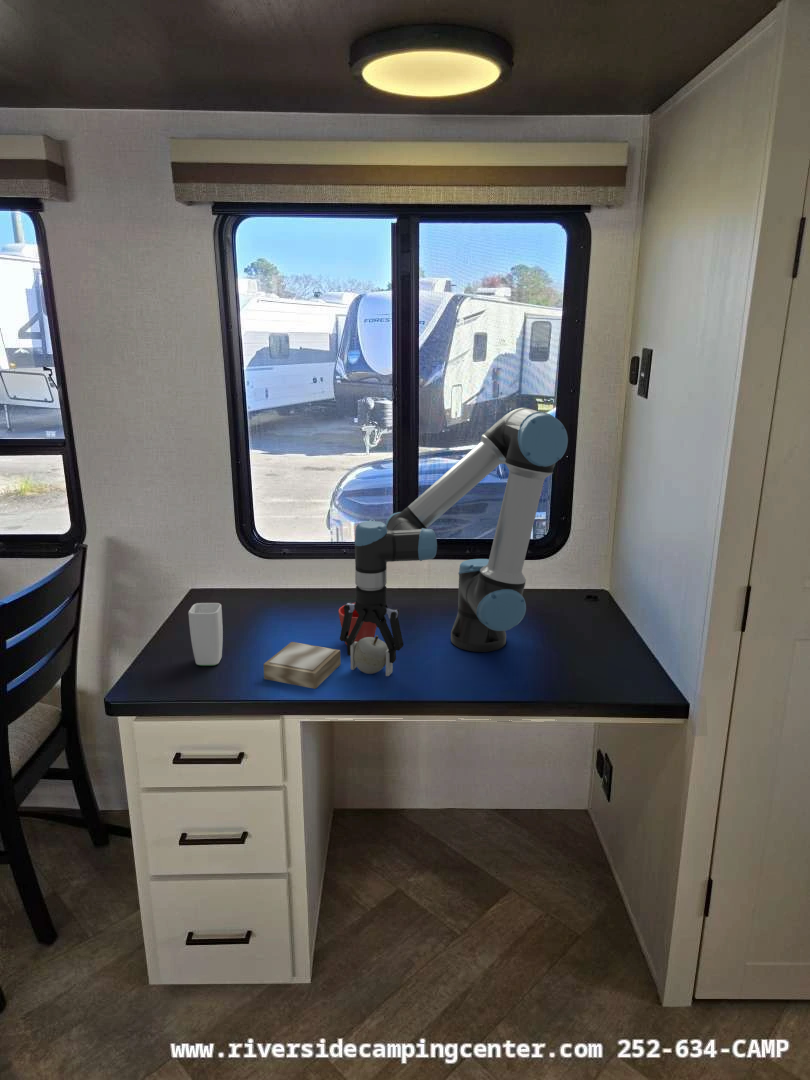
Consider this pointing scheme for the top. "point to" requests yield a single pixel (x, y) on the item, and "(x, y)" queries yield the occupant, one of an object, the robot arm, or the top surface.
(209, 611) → the cup
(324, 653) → the plinth
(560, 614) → the top surface
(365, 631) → the flower pot
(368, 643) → the decorative object
